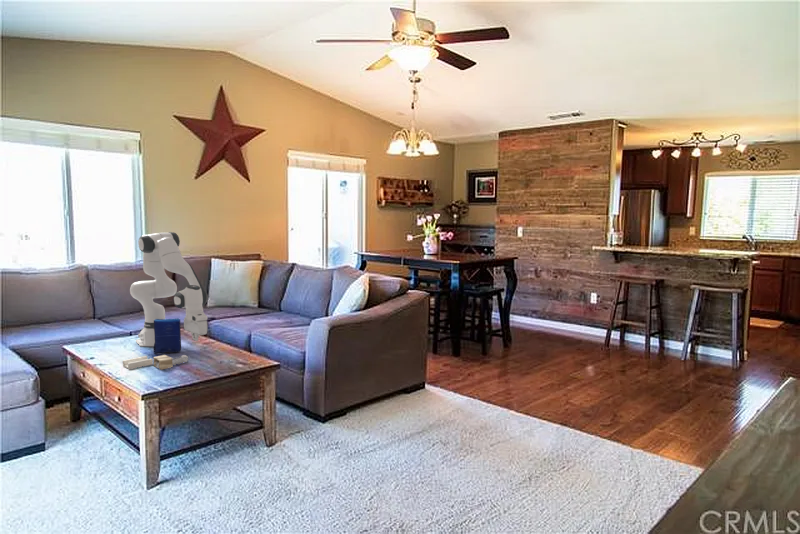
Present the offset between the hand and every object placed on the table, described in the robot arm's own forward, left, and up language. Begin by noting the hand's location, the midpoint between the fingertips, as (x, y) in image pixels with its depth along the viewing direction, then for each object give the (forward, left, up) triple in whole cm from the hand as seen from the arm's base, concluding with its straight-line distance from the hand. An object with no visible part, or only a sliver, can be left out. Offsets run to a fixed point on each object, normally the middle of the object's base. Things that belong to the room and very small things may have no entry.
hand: (195, 340), depth 285 cm
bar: (-1, -13, -11) cm, 17 cm away
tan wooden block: (0, -18, -11) cm, 21 cm away
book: (-24, -5, -11) cm, 27 cm away
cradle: (-12, -26, -11) cm, 31 cm away
